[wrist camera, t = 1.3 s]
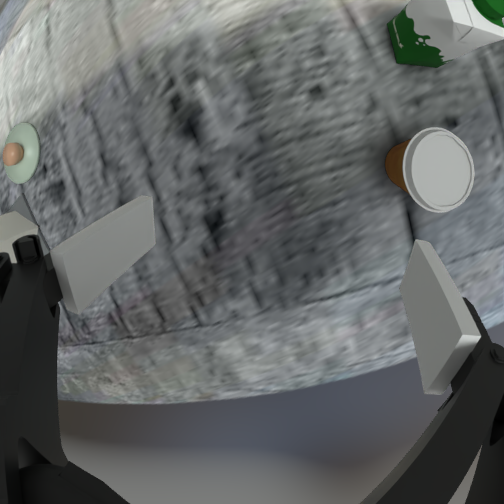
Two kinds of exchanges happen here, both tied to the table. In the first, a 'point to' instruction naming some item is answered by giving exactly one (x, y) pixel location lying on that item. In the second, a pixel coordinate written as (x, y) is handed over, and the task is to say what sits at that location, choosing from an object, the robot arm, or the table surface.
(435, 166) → the disposable coffee cup
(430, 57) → the milk carton
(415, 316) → the robot arm
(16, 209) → the mat
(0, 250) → the white upright block
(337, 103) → the table surface
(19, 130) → the plate
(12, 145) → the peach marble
